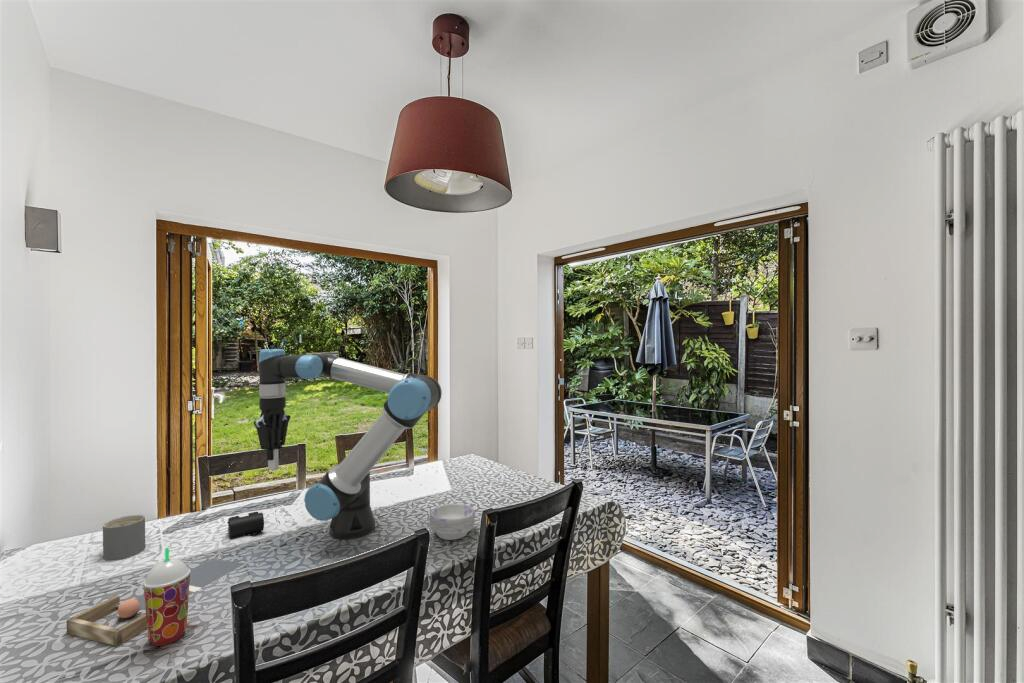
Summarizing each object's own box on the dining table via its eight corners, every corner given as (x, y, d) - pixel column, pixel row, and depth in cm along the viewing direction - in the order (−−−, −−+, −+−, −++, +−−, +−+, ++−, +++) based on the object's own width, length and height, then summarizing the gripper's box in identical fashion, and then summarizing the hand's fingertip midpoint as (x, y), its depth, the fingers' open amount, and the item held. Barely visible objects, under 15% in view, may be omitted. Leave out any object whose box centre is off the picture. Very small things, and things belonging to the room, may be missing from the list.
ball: (122, 620, 103) (138, 618, 106) (130, 600, 104) (146, 599, 108) (109, 617, 104) (126, 615, 107) (118, 597, 106) (134, 596, 109)
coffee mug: (147, 552, 139) (147, 520, 139) (104, 564, 131) (104, 530, 131) (141, 539, 148) (140, 509, 148) (100, 549, 141) (100, 518, 141)
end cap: (229, 543, 144) (229, 522, 144) (226, 536, 150) (226, 516, 150) (264, 534, 151) (264, 514, 151) (260, 528, 156) (259, 508, 156)
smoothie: (161, 626, 102) (160, 540, 102) (199, 624, 103) (198, 538, 103) (133, 652, 94) (132, 558, 94) (175, 649, 94) (174, 556, 94)
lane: (244, 567, 129) (244, 563, 129) (158, 616, 106) (158, 612, 106) (212, 561, 132) (212, 558, 132) (122, 608, 109) (122, 604, 109)
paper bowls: (484, 533, 150) (484, 510, 150) (449, 549, 139) (448, 524, 139) (455, 521, 160) (455, 499, 160) (420, 534, 149) (420, 511, 149)
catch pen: (164, 618, 105) (164, 605, 105) (116, 646, 96) (116, 632, 96) (116, 607, 110) (116, 595, 110) (66, 633, 100) (66, 620, 100)
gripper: (278, 393, 150) (279, 463, 150) (246, 399, 138) (247, 474, 138) (297, 394, 148) (297, 464, 148) (265, 399, 136) (266, 476, 136)
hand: (273, 469), depth 143 cm, fingers closed
